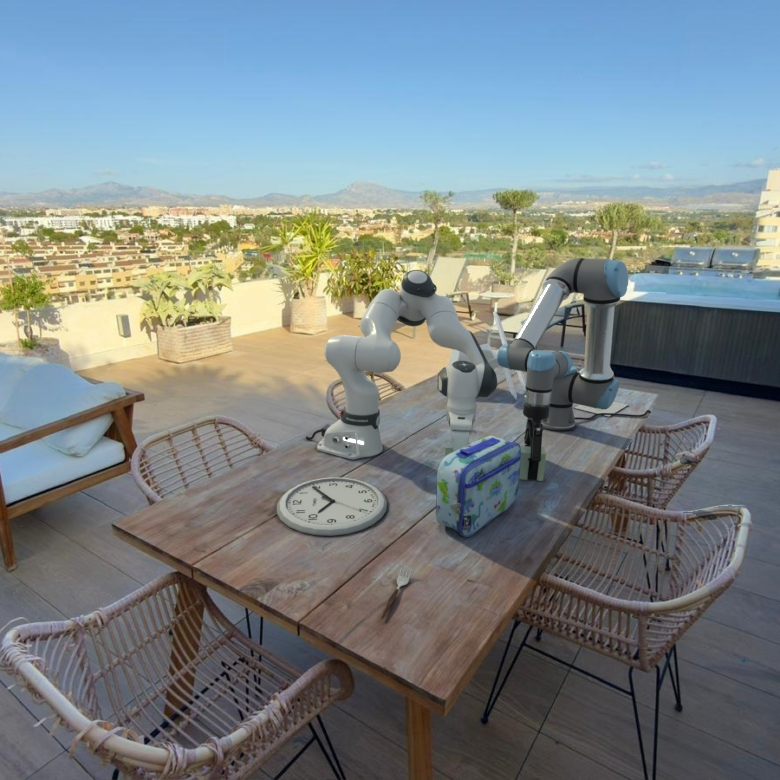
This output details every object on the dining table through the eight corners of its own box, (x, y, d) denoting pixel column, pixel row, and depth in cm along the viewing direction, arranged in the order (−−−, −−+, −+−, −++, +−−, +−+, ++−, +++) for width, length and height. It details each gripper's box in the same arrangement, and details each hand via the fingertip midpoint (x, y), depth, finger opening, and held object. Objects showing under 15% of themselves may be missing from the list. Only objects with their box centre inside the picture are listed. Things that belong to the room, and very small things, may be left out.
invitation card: (608, 416, 214) (573, 407, 224) (608, 416, 214) (573, 408, 224) (628, 404, 229) (594, 396, 238) (628, 405, 229) (594, 397, 238)
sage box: (540, 473, 163) (543, 447, 161) (543, 481, 159) (546, 453, 156) (444, 467, 167) (445, 441, 164) (444, 474, 162) (445, 447, 159)
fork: (375, 618, 102) (375, 610, 101) (401, 570, 116) (402, 563, 115) (388, 622, 101) (388, 613, 100) (413, 573, 115) (413, 565, 114)
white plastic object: (461, 429, 252) (437, 405, 227) (444, 352, 274) (420, 323, 250) (535, 404, 240) (518, 377, 215) (510, 326, 262) (492, 293, 237)
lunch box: (462, 546, 125) (467, 466, 119) (428, 528, 132) (432, 452, 126) (521, 508, 143) (529, 437, 136) (489, 494, 150) (494, 425, 144)
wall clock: (392, 527, 129) (268, 531, 127) (391, 533, 130) (269, 537, 127) (383, 473, 158) (282, 475, 155) (383, 478, 158) (282, 480, 156)
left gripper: (450, 403, 168) (448, 443, 173) (450, 426, 149) (447, 470, 153) (470, 404, 168) (467, 444, 172) (472, 427, 148) (469, 471, 152)
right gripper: (519, 391, 165) (513, 455, 172) (529, 415, 144) (521, 488, 151) (543, 392, 164) (536, 457, 171) (557, 417, 143) (548, 489, 150)
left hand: (458, 456), depth 162 cm, fingers open, 6 cm apart
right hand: (529, 471), depth 161 cm, fingers open, 10 cm apart
